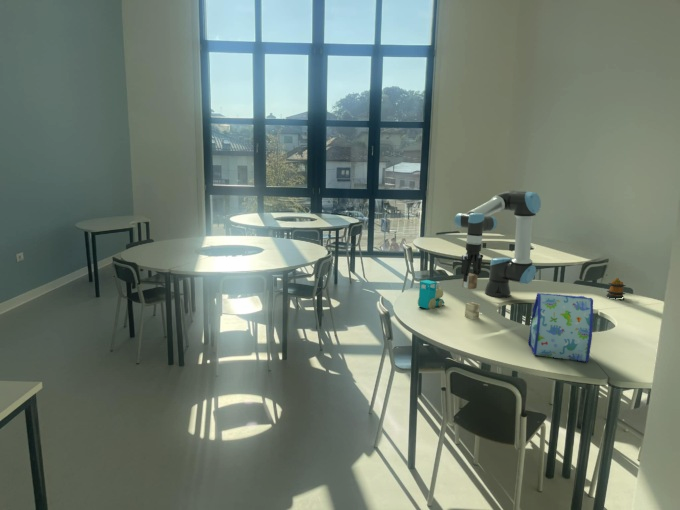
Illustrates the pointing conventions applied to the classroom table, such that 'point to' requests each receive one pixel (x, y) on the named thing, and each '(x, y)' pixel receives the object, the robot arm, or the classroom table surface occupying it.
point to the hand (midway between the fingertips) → (469, 286)
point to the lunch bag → (562, 326)
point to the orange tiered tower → (616, 289)
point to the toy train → (430, 295)
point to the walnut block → (472, 281)
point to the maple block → (472, 310)
